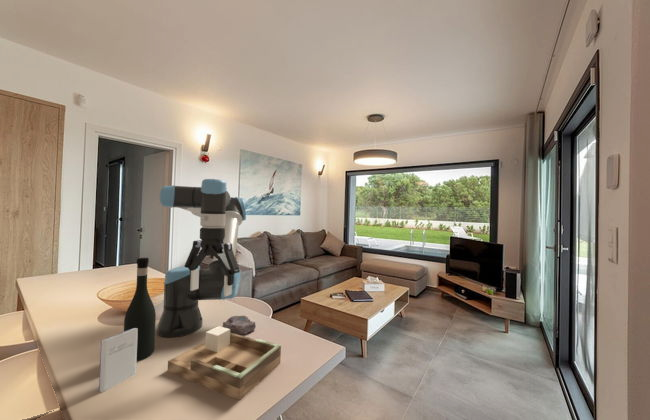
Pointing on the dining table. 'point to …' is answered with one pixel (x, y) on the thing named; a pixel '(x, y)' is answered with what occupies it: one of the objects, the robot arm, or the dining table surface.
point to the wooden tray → (228, 365)
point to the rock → (239, 325)
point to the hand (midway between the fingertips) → (210, 292)
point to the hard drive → (118, 358)
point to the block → (217, 339)
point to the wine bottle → (142, 313)
